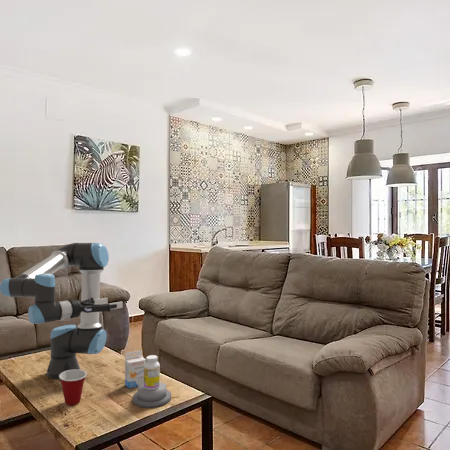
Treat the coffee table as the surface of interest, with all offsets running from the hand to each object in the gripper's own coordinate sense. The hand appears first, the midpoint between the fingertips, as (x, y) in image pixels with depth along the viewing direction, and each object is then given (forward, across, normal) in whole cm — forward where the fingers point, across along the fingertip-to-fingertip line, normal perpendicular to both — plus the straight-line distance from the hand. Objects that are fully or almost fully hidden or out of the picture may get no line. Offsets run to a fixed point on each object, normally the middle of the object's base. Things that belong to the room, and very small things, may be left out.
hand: (114, 302), depth 183 cm
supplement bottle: (+4, +24, -33) cm, 41 cm away
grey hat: (+4, +24, -38) cm, 45 cm away
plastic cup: (-21, +4, -38) cm, 44 cm away
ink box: (+7, +6, -38) cm, 39 cm away
